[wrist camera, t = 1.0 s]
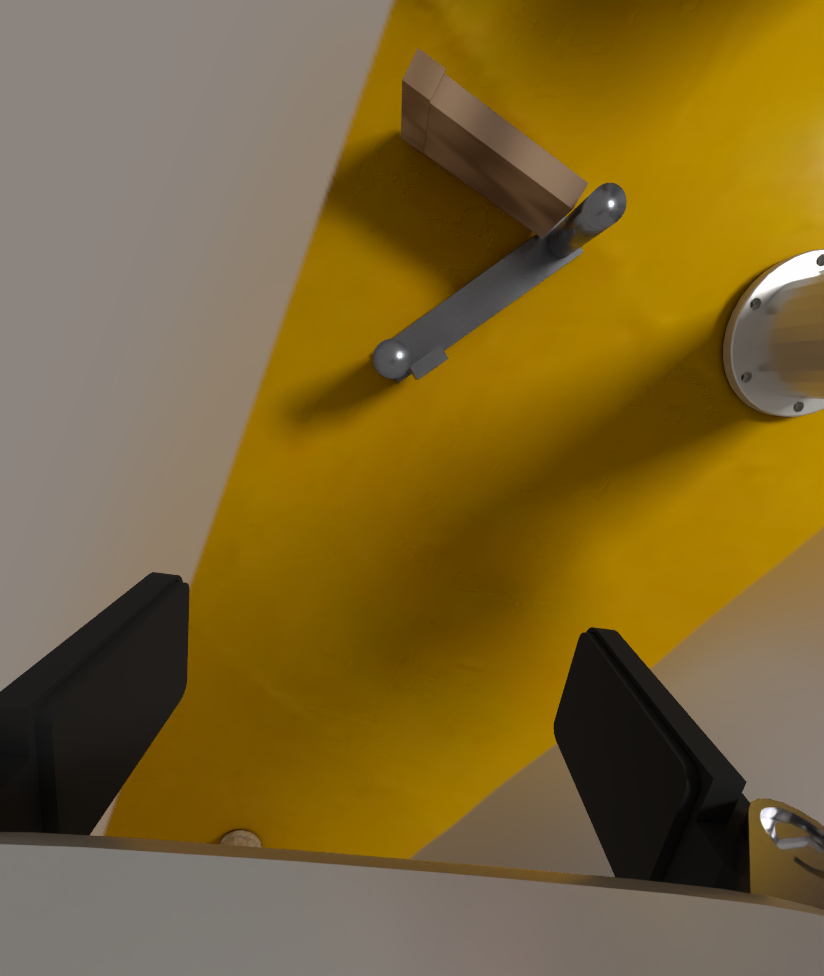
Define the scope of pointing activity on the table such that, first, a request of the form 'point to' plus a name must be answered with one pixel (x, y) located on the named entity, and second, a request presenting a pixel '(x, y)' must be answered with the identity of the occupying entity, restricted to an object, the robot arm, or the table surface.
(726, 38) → the table surface
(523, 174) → the gate
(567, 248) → the gate posts
